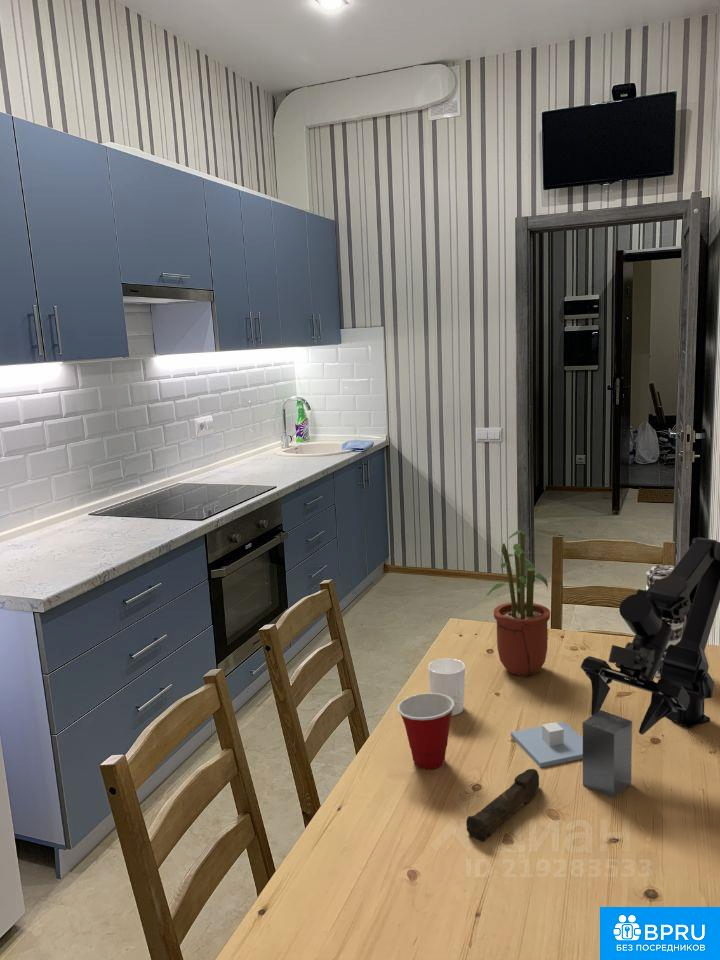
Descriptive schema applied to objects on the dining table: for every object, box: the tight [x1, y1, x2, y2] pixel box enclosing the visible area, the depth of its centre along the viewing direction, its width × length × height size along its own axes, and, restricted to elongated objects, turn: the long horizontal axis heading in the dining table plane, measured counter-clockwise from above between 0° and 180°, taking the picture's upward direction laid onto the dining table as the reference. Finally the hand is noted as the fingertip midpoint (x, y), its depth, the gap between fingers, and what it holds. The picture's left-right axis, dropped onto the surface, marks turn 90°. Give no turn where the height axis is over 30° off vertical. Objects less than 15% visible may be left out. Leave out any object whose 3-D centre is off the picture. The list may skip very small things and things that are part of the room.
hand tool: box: [465, 768, 540, 843], centre depth 127 cm, size 19×4×5 cm, turn 133°
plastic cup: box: [397, 692, 454, 771], centre depth 143 cm, size 11×11×12 cm
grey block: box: [582, 709, 633, 799], centre depth 133 cm, size 6×6×12 cm
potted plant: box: [482, 530, 551, 676], centre depth 180 cm, size 17×16×35 cm
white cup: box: [427, 657, 466, 717], centre depth 163 cm, size 8×8×10 cm
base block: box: [510, 721, 583, 768], centre depth 147 cm, size 12×12×4 cm
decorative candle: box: [644, 564, 685, 678], centre depth 175 cm, size 9×9×25 cm
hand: (616, 724), depth 134 cm, fingers open, 9 cm apart
